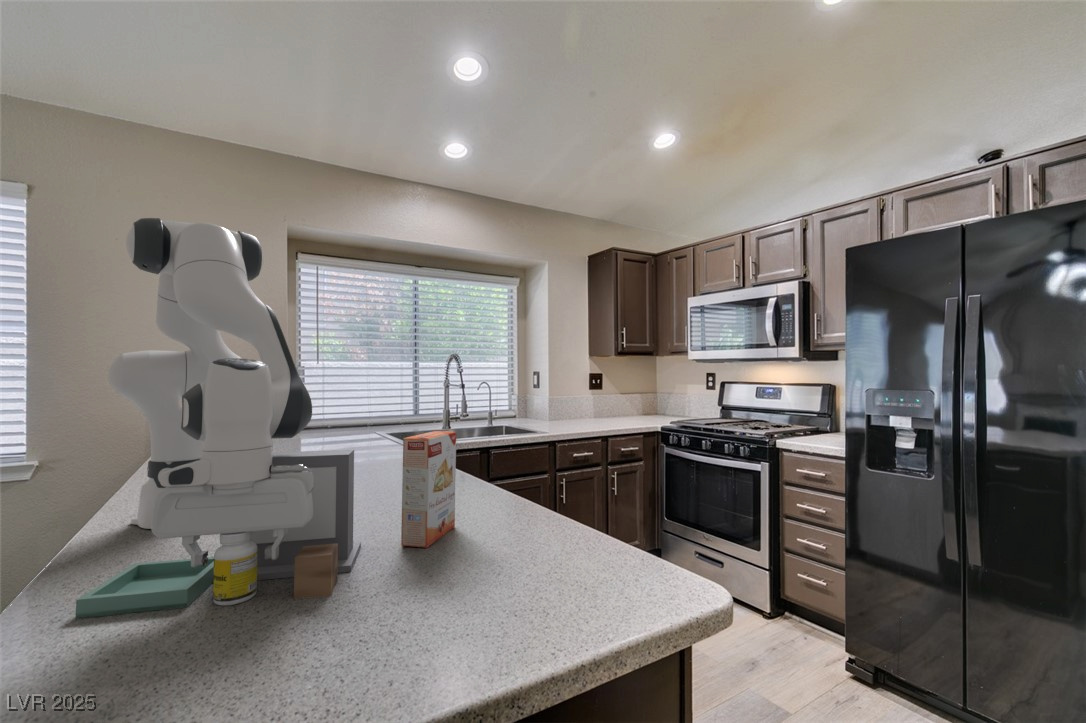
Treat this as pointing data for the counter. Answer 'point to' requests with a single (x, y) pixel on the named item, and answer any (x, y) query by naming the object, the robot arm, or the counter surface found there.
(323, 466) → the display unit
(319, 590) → the walnut block
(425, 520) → the cracker box
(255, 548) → the supplement bottle
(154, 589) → the tray
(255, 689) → the counter surface
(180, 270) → the robot arm
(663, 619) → the counter surface
